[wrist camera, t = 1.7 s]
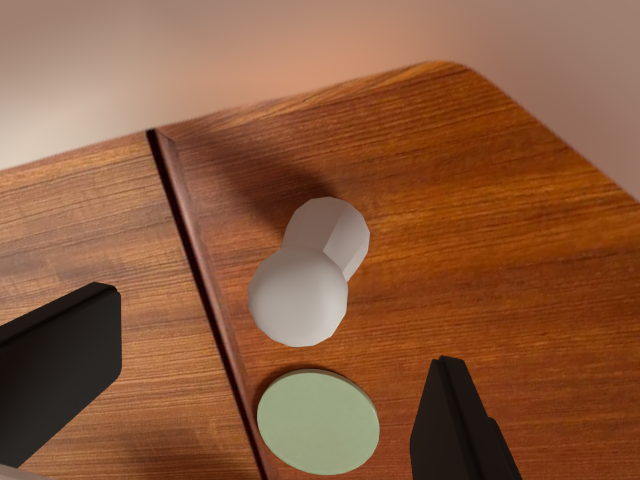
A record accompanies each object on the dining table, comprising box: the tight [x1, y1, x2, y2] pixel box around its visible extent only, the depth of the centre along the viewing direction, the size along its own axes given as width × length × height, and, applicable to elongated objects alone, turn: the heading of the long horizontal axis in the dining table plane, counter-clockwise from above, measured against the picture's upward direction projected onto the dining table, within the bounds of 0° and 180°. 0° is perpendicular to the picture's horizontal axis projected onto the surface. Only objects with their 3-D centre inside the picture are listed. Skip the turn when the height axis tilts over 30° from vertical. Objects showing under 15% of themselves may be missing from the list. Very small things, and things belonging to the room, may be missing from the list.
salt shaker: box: [248, 197, 370, 347], centre depth 20 cm, size 6×6×13 cm
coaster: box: [257, 369, 379, 475], centre depth 31 cm, size 11×11×1 cm
